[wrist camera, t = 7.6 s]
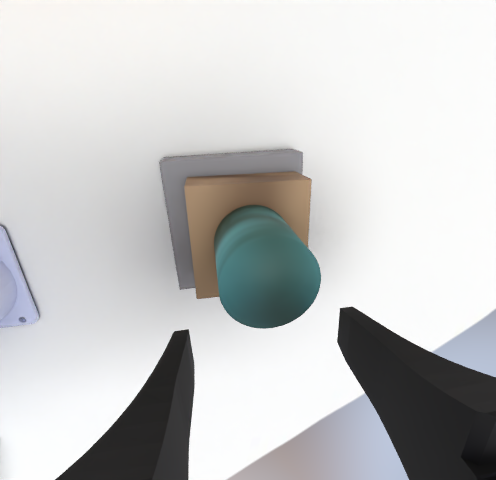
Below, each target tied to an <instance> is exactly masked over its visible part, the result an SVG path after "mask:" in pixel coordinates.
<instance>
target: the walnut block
mask: <svg viewBox="0 0 496 480" xmlns="http://www.w3.org/2000/svg"><path fill="white" fill-rule="evenodd" d="M184 189H185V197H186V206H187V215H188V224H189V233H190V242H191V251H192V260H193V269H194V278H195V287H196V296H197V299H202V298H211V297H220V296H219V289H218V279H217V270H216V260H215V250H214V236H215V232H216V230H217V227H218V225H219V224H220V222H221V221H222V220H223V218H224V217H225V216H226V215H228V214H229V213H230V212H232V211H233V210H235V209H237V208H240V207H243V206H247V205H261V206H265V207H268V208H270V209H272V210H274V211H275V212H277V213H278V214H279V215H280V216H281V217H282V218H283V219H284V221H285V222H286V223H287V224H288V225H289V226H290V228H291V229H292V230H293V231H294V232H295V234H296V235H297V236H298V237H299V238H300V239H301V241H302V242H303V243H304V244H305V245H306V247H307V248H308V232H309V214H310V196H311V179H309V178H307V177H305V176H303V175H301V174H300V173H298V172H296V171H293V172H274V173H255V174H236V175H217V176H198V177H187V178H186V182H185V186H184Z"/></svg>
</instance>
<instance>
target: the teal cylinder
mask: <svg viewBox="0 0 496 480" xmlns="http://www.w3.org/2000/svg"><path fill="white" fill-rule="evenodd" d="M214 250H215V260H216V270H217V279H218V289H219V296H220V300H221V303H222V305H223V307H224V309H225V310H226V311H227V313H228V314H229V315H230V316H231V317H232V318H233V319H235V320H236V321H238V322H240V323H241V324H244V325H246V326H250V327H254V328H274V327H278V326H282V325H285V324H287V323H289V322H291V321H293V320H295V319H297V318H298V317H300V316H301V315H302V314H303V313H304V312H305V311H306V310H307V309H308V308H309V307H310V306H311V304H312V303H313V302H314V300H315V298H316V296H317V294H318V291H319V288H320V282H321V273H320V268H319V264H318V262H317V260H316V258H315V257H314V255H313V254H312V252H311V251H310V250H309V249H308V248H307V247H306V245H305V244H304V243H303V242H302V241H301V239H300V238H299V237H298V236H297V235H296V234H295V232H294V231H293V230H292V229H291V228H290V226H289V225H288V224H287V223H286V222H285V221H284V219H283V218H282V217H281V216H280V215H279V214H278V213H277V212H275V211H274V210H272V209H270V208H268V207H265V206H261V205H247V206H243V207H240V208H237V209H235V210H233V211H232V212H230V213H229V214H228V215H226V216H225V217H224V218H223V220H222V221H221V222H220V224H219V225H218V227H217V230H216V232H215V236H214Z"/></svg>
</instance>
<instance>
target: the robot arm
mask: <svg viewBox="0 0 496 480" xmlns="http://www.w3.org/2000/svg"><path fill="white" fill-rule="evenodd" d="M22 317H24V318H25V319H23V318H22ZM38 319H39V314H38V312H37V309H36V307H35V304H34V302H33V299H32V297H31V294H30V292H29V289H28V286H27V284H26V281H25V279H24V276H23V274H22V271H21V269H20V266H19V264H18V261H17V259H16V256H15V253H14V251H13V248H12V246H11V243H10V241H9V238H8V236H7V233H6V231H5V229H4V228H3V227H2V226H0V328H3V327H11V326H19V325H27V324H33V323H35V322H37V320H38ZM337 342H338V345H339V347H340V349H341V352H342V354H343V356H344V358H345V360H346V362H347V364H348V365H349V367H350V369H351V370H352V372H353V374H354V375H355V377H356V379H357V380H358V382H359V383H360V385H361V387H362V388H363V390H364V391H365V393H366V395H367V396H368V397H369V399H370V401H371V403H372V404H373V406H374V408H375V409H376V411H377V413H378V415H379V417H380V419H381V421H382V423H383V424H384V427H385V429H386V431H387V433H388V435H389V437H390V439H391V441H392V443H393V445H394V447H395V449H396V452H397V453H398V456H399V458H400V460H401V462H402V464H403V467H404V469H405V471H406V473H407V476H408V478H409V480H496V377H492V376H490V375H487V374H483V373H481V372H477V371H475V370H472V369H469V368H466V367H464V366H462V365H459V364H456V363H454V362H451V361H449V360H447V359H445V358H442V357H440V356H438V355H436V354H433V353H431V352H429V351H427V350H425V349H423V348H421V347H419V346H417V345H415V344H413V343H411V342H410V341H408V340H406V339H404V338H402V337H401V336H399V335H397V334H396V333H394V332H392V331H390V330H389V329H387V328H386V327H384V326H382V325H381V324H379V323H378V322H376V321H374V320H373V319H371V318H370V317H368V316H367V315H365V314H363V313H362V312H360V311H359V310H357V309H355V308H354V307H346V308H340V316H339V328H338V340H337ZM193 396H194V360H193V353H192V347H191V341H190V335H189V329H188V330H181V331H175V332H174V333H173V334H172V337H171V339H170V341H169V343H168V345H167V347H166V349H165V351H164V353H163V355H162V357H161V358H160V360H159V362H158V364H157V365H156V367H155V369H154V370H153V372H152V374H151V375H150V377H149V378H148V380H147V381H146V383H145V384H144V386H143V387H142V389H141V390H140V392H139V393H138V394H137V396H136V397H135V398H134V400H133V401H132V402H131V404H130V405H129V406H128V407H127V409H126V410H125V411H124V412H123V413H122V415H121V416H120V417H119V418H118V419H117V421H116V422H115V423H114V424H113V425H112V426H111V427H110V428H109V430H108V431H107V432H106V433H105V434H104V435H103V436H102V437H101V438H100V439H99V440H98V441H97V442H96V443H95V444H94V445H93V446H92V447H91V448H90V449H89V450H88V451H87V452H86V453H85V454H84V455H83V456H82V457H81V458H79V459H78V460H77V461H76V462H75V463H74V464H73V465H72V466H70V467H69V468H68V469H67V470H66V471H65V472H64V473H63V474H61V475H60V476H59V477H58V478H57V479H55V480H188V459H189V437H190V427H191V417H192V407H193Z"/></svg>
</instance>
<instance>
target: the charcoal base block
mask: <svg viewBox="0 0 496 480" xmlns="http://www.w3.org/2000/svg"><path fill="white" fill-rule="evenodd" d="M159 164H160V170H161V176H162V182H163V188H164V194H165V201H166V207H167V213H168V219H169V225H170V232H171V238H172V244H173V250H174V256H175V262H176V269H177V275H178V281H179V287H180V290H181V289H189V288H196V287H195V278H194V269H193V260H192V251H191V242H190V233H189V224H188V215H187V206H186V197H185V189H184V186H185V182H186V178H187V177H198V176H217V175H236V174H255V173H274V172H293V171H296V172H298V173H300V174H301V175H302V166H303V152H300V151H297V150H293V149H286V150H271V151H255V152H240V153H225V154H210V155H194V156H179V157H164V158H163V159H162V160H161V161H160V162H159Z"/></svg>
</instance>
